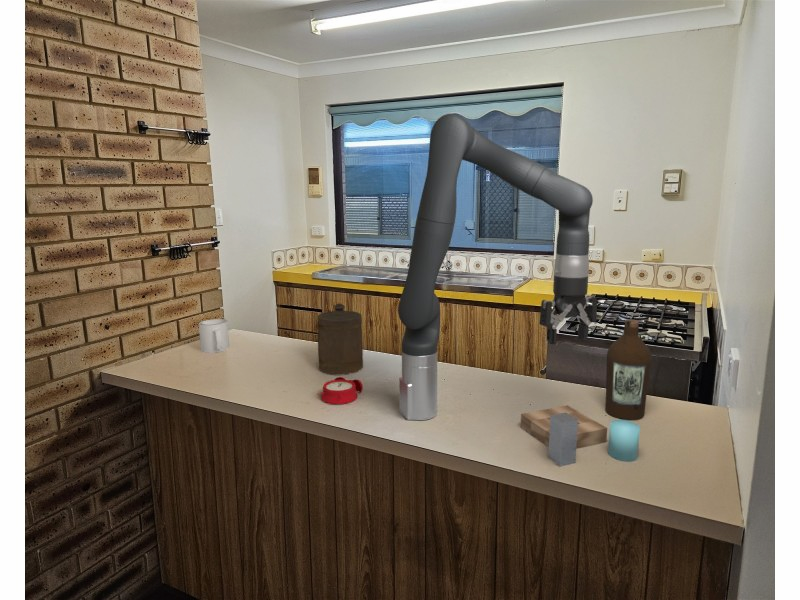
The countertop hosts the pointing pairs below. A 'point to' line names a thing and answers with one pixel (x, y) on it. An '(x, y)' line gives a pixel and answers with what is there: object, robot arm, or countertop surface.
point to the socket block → (587, 427)
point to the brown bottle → (627, 374)
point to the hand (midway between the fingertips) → (567, 341)
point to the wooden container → (340, 341)
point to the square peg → (563, 439)
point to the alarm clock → (341, 391)
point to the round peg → (623, 440)
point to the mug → (213, 335)
